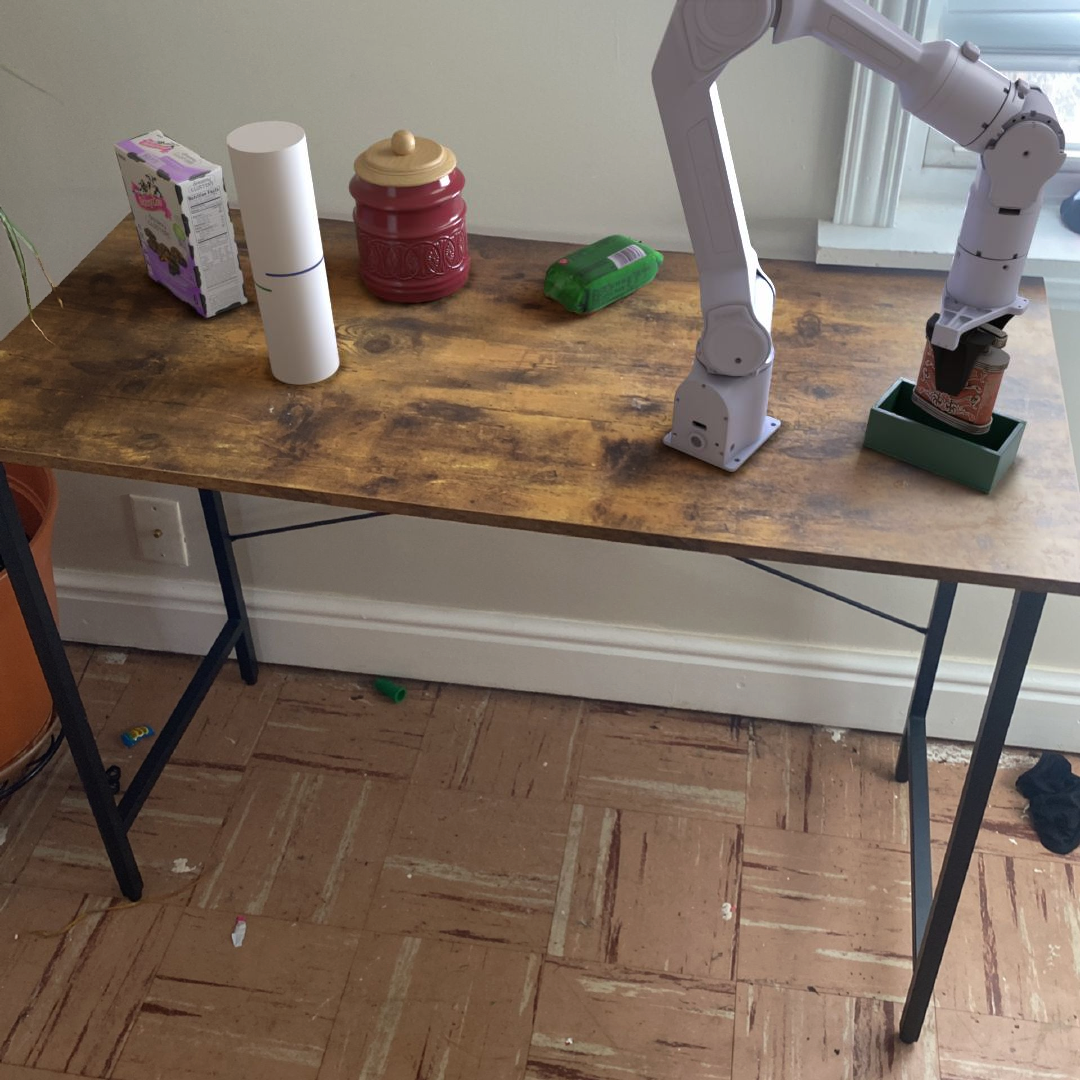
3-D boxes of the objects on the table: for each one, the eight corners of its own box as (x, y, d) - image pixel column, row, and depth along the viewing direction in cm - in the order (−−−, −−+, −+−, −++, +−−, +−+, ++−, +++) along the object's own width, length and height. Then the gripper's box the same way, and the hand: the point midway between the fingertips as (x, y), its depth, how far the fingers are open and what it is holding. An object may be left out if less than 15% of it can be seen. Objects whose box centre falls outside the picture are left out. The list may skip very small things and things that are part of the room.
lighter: (903, 399, 111) (924, 306, 104) (926, 386, 112) (948, 293, 105) (975, 439, 106) (1002, 345, 99) (998, 424, 107) (1026, 330, 101)
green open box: (988, 494, 107) (1000, 456, 104) (862, 445, 113) (870, 408, 110) (1015, 459, 111) (1027, 421, 108) (891, 413, 117) (899, 376, 114)
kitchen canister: (391, 243, 145) (376, 101, 133) (488, 261, 141) (481, 116, 130) (341, 294, 136) (319, 146, 124) (442, 314, 132) (430, 163, 121)
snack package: (674, 281, 137) (676, 240, 134) (575, 329, 129) (575, 286, 126) (631, 260, 141) (632, 219, 138) (532, 305, 134) (531, 263, 130)
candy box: (146, 276, 140) (110, 142, 129) (190, 259, 143) (158, 126, 132) (205, 320, 132) (173, 181, 121) (250, 302, 135) (222, 164, 124)
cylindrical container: (326, 387, 122) (288, 155, 105) (261, 380, 123) (213, 149, 106) (348, 350, 127) (315, 123, 110) (285, 344, 128) (244, 118, 111)
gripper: (1007, 294, 92) (968, 434, 101) (1071, 223, 100) (1029, 359, 109) (922, 268, 95) (891, 406, 104) (990, 202, 103) (956, 335, 112)
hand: (956, 380), depth 107 cm, fingers closed on lighter, 4 cm apart
